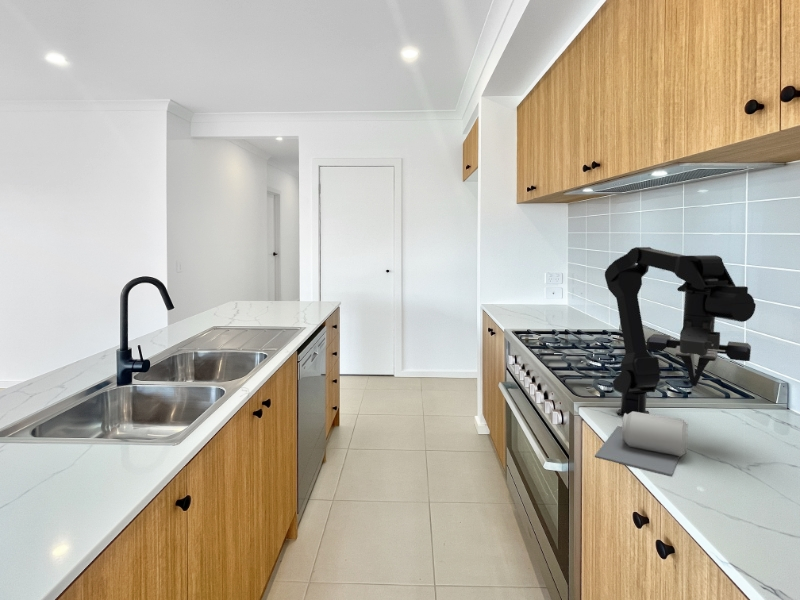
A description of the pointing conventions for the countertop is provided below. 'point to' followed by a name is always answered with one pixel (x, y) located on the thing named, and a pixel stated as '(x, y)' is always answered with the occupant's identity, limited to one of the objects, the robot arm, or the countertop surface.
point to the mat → (636, 455)
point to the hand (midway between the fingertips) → (694, 385)
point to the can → (655, 433)
